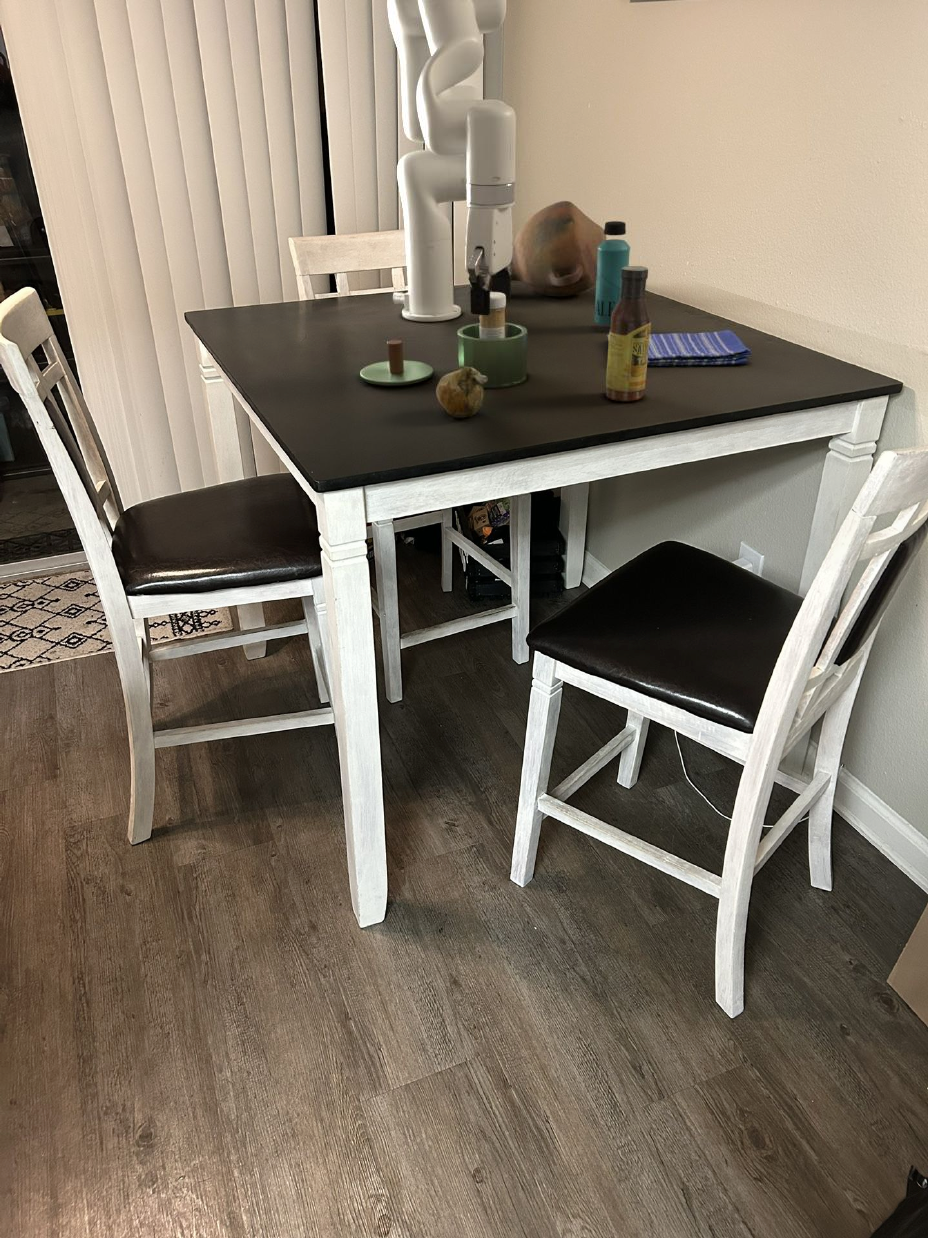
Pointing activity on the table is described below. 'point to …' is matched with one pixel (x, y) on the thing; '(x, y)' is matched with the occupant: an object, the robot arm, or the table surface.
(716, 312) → the table surface
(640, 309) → the sauce bottle
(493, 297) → the sprinkles bottle
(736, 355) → the dish towel
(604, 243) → the beverage bottle
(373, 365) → the tin lid
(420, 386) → the table surface
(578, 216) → the jug
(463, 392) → the onion
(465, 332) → the tin
